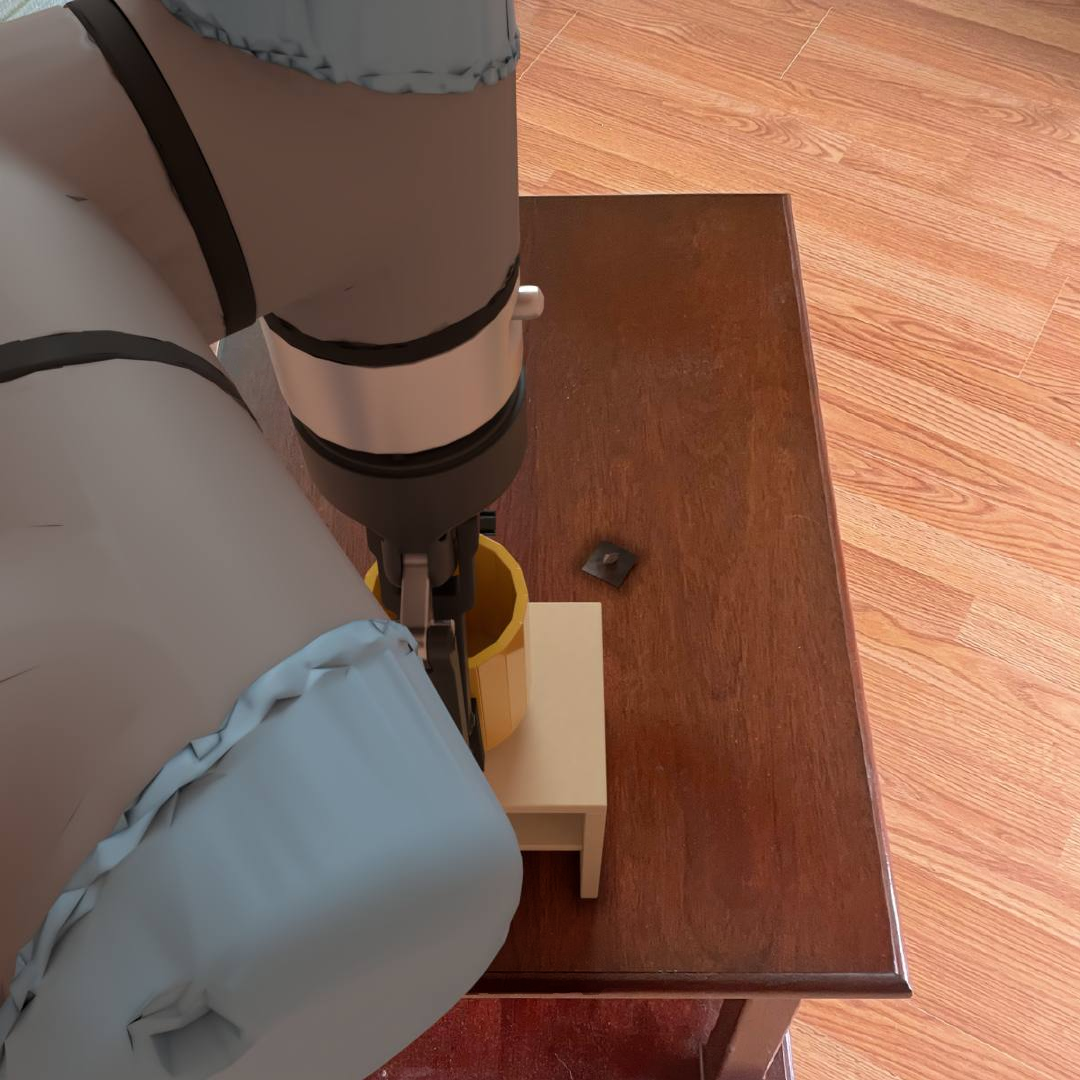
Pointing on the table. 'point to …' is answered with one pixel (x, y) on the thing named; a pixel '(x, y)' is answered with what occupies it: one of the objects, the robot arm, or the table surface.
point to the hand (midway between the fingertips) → (459, 687)
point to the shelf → (559, 741)
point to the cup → (493, 640)
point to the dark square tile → (610, 563)
